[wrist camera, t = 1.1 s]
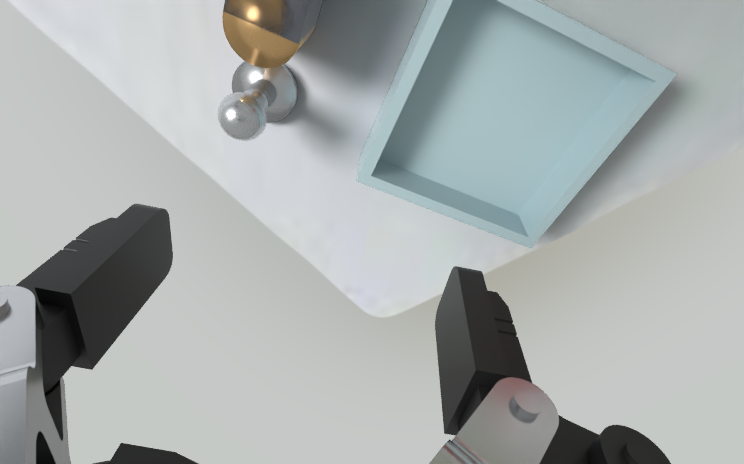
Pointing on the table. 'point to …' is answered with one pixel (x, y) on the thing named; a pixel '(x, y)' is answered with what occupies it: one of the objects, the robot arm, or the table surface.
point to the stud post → (257, 100)
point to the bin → (504, 113)
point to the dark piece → (269, 28)
